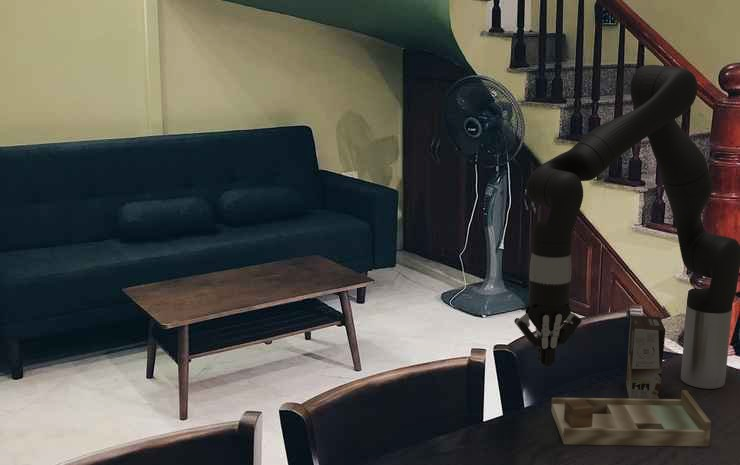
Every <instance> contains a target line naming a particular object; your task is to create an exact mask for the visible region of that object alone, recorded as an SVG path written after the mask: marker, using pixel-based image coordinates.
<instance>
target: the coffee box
mask: <svg viewBox="0 0 740 465" xmlns="http://www.w3.org/2000/svg"><path fill="white" fill-rule="evenodd" d="M629 317H630V319H629V333H628V345H627V346H628V350H627V365H626V366H627V367H626V381H625V382H626V383H625V385H626V390H627V395H628V399H661V387H662V386H661V385H662V376H663V374H662V372H663V362H664V351H665V340H666V339H665V338H666V332H667V330H666V327H665V326H664V323H663V320H662V319H661V317H660V316H652V315H651V316H648V315H647V316H646V315H645V316H644V315H643V316H641V315H640V316H637V315H630V316H629Z"/></svg>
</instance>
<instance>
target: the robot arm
mask: <svg viewBox="0 0 740 465" xmlns="http://www.w3.org/2000/svg"><path fill="white" fill-rule="evenodd" d="M698 89H699V88H698V80H697V78H696V76H695V74H694V73H693V72H692V71H691V70H689V69H686V68H683V67H679V66H678V67H677V66H669V65H659V64H647V65H643V66H640V67H639V68H637V70H635V71H634V73H633V75H632V77H631V82H630V89H629V92H630V97H631V101H632V105H633V108H634V109H633V110H631V111H629V112H627V113H625V114H623V115H620V116H618V117H615V118H613V119H611V120H607V121H605V122H603V123H602V124H600V125H598V126H597V127H594V128H593V129H592V130H590V131H589V133H587V134H586V135H585V136H583V138H581V139H580V140H579V141H578V142H576V144H574V145H573V146H572V147H571V148H569V150H567V151H565V152H563V153H560V154H558V155H557V156H555V157H553V158H551V159H549V160H547V161H545V162H544V163H542V164H541V165H539V166H538V167H537V168H535V170H534V171H532V173H531V174H530V176H529V177H528V178H527V182H526V185H525V192H526V196H527V198H528V199H529V201H530V202H532V203H533V204H535V205H537V206H540V207H545V208H549V213H548V217H547V219H542V220H539V221H537V222H536V223H534V225H533V228H532V240H531V254H530V262H529V279H528V297H527V298H528V304H527V307H526V309H525V313H524V314H523V315H522V316H521V317H516V318H515V319H514V324H515V325H516V327H517V328H518V329H519V330H520V331H521V333H522V334H523V335H524V337H525V338H526V339H527V340H528V341H529V343H531V344H532V345H533V346H534V347H537V361H538V363H539V364H540V365H541V366H542V367H544V368H545V367H547V368H548V367H552V365H553V364H554V362H555V361H556V360H555V359H556V347H557V346H559V345H564V344H566V342H568V341H567V340H568V339H569V338H570V337H571V336H572V335H573V334H574V332H575V331H576V329H577V328H578V326H580V324H581V323H582V318H580V317H579V316H577V315H576V314H574V313H573V312H572V309H571V306H570V301H571V281H572V280H571V279H572V274H573V272H572V255H571V254H572V240H573V239H572V236H573V235H572V233H573V232H574V231H573V230H574V227H575V225H576V224H577V219H578V217H579V214H580V213H579V212H580V210H581V207H582V203H583V199H584V186H583V183H582V182H589V181H592V180H594V179H596V178H598V177H599V175H601V174H602V173H603V172H604V171H605V170H606V169H607V168H609V167H610V166H611V165H612V164H614V162H615V161H617V159H619V158H620V157H621V156H622V155H624V153H626V152H627V151H628V150H630V149H631V148H633V147H634V146H635V145H636V144H638V143H640V142H642V141H643V140H644V139H645V138H647V139H648V141H649V144H650V147H651V151H652V153H653V155H654V159H655V162H656V165H657V167H658V171H659V175H660V179H661V181H662V186H663V189H664V192H665V195H666V197H667V200H668V203H669V206H670V209H671V214H672V216H673V220H674V225H675V228H676V229H675V230H676V234H677V238H678V245H679V250H680V255H681V259H682V263H683V265H684V267H685V268H686V269H687V271H689V273H692V274H696V275H699V276H703V277H707V278H710V283H709V287H705V288H698V289H694V290H693V289H692V290H690V292H689V293H688V294H687V298H686V313H685V322H684V323H685V324H684V334H683V335H684V337H683V348H682V357H681V358H682V360H681V367H680V368H681V369H680V370H681V371H680V380H681V381H682V382H683V383H684V384H686V385H689V386H691V387H695V388H700V389H708V390H710V389H711V390H712V389H719V388H720V389H721V388H722V387H724V386H725V385H726V376H727V368H728V367H727V366H728V356H729V354H728V353H729V347H730V346H729V345H730V335H731V322H732V316H733V315H732V314H733V304H734V300H735V299H736V298H735V297H736V294H737V291H738V282H739V275H740V242H739V241H738V240H737V239H735V238H732V237H727V236H722V235H718V234H713V233H710V232H708V231H706V229H705V226H704V224H703V220H702V213H703V211H704V209H705V207H706V205H707V203H708V202H709V200H710V197H711V195H712V193H713V180H712V176H711V173H710V170H709V166H708V163H707V159H706V157H705V155H704V153H703V151H701V150H700V148H699V147H698V146H697V144H696V143H695V142H694V141H693V140H692V139H691V138H690V137H689V135H688V134H687V133H686V132H685V131H684V129H683V128H682V127H681V126H680V125H679V123H678V122H677V120H676V119H678V118H679V117H680V116H682V115H684V114H685V113H687V111H689V109H690V108H691V107H692V106H693V104H694V103H695V100H696V98H697V95H698V91H699V90H698ZM530 322H531V323H532V325H533V326H534V327H535V332H536V336H535V335H534V333H533V332H532V331H531V329H530V326H531V324H530Z"/></svg>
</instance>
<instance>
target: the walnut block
mask: <svg viewBox="0 0 740 465" xmlns="http://www.w3.org/2000/svg"><path fill="white" fill-rule="evenodd" d="M592 419H593V407H592V406H591V405H590V404H589V403H588V402H587V401H586V400H585V399H577V400H566V401H565V409H564V420H565V421H566V422H567V423H568V424H569V425H570V426H571V427H572V428H583V427H592Z"/></svg>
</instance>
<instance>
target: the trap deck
mask: <svg viewBox="0 0 740 465" xmlns="http://www.w3.org/2000/svg"><path fill="white" fill-rule="evenodd" d="M680 393H681V394H680V399H679V398H660V399H629V398H611V397H610V398H609V397H608V398H605V397H601V398H600V397H597V398H596V397H551V410H550V411H551V414H552V417H553V419H554V422H555V425H556V427H557V430H558V432H559V436H560V438H561V441H562V443H563V445H584V446H585V445H587V446H590V445H591V446H594V445H595V446H641V447H642V446H643V447H644V446H649V447H655V446H657V447H708V448H709V446H710V438H711V437H710V436H711V427H712V421H711V420H710V419H709V417H708V416H707V415H706V414H705V412H704V410H703V409H702V408H701V406H699V405H698V403H697V402H696V400H695V399H694V398H693V396H692V395H691V394H690V393H689V391H688V390H687V389H682V390H681V392H680ZM577 399H585V400H586V401H587V402H588V403H589V404H590V405H591V406H592V407H593V419H592V427H583V428H572V427H571V426H570V425H569V424H568V423H567V422H566V421H565V420H564V409H565V401H566V400H577Z"/></svg>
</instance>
